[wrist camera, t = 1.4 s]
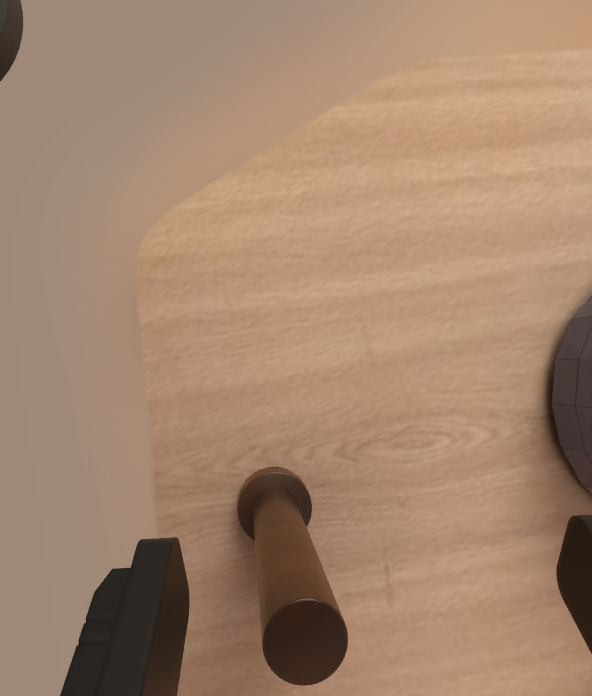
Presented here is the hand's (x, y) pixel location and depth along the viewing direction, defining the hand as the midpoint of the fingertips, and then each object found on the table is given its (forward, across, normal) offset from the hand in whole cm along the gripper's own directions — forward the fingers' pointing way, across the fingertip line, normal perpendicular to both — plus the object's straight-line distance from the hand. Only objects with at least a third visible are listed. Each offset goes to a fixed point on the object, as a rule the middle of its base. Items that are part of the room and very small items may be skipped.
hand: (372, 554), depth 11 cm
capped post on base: (+15, +3, +13) cm, 20 cm away
